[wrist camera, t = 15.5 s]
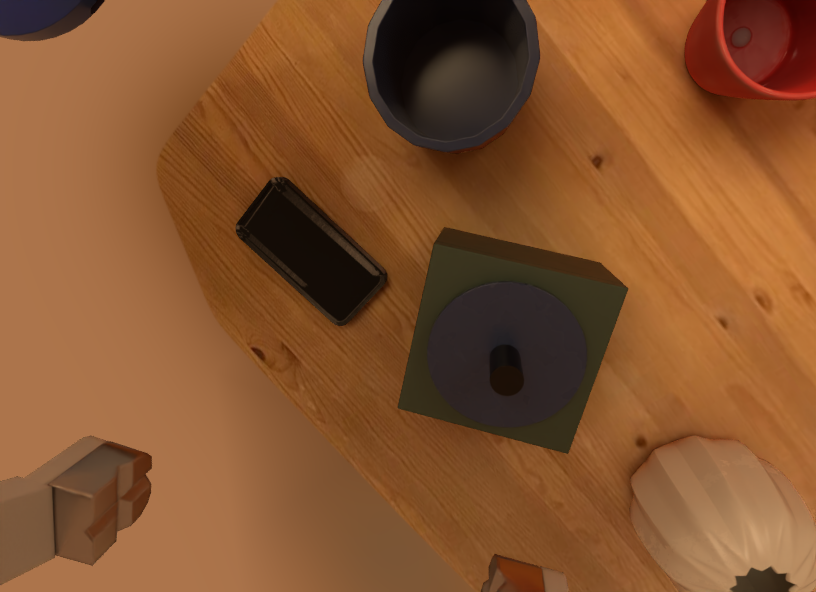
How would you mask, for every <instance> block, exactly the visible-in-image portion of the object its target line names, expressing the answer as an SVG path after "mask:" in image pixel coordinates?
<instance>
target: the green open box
mask: <svg viewBox="0 0 816 592" xmlns="http://www.w3.org/2000/svg"><path fill="white" fill-rule="evenodd" d="M497 281H516V282H522V283H527V284H530V285H533V286H537V287H539V288H541V289H543V290H546V291H547V292H549V293H551V294H552V295H554V296H555V297H557V298H558V299H559V300H560V301H562V302H563V303H564V304H565V305H566V306H567V307H568V308H569V310H570V311H571V312H572V313H573V315H574V316H575V318H576V319H577V321H578V323H579V325H580V327H581V329H582V331H583V334H584V337H585V341H586V347H587V364H586V370H585V374H584V377H583V380H582V382H581V384H580V387H579V388H578V390H577V391H576V393H575V395H574V396H573V397H572V398H571V400H570V401H569V402H568V403H567V404H566V405H565V406H564V407H563V408H562V409H561V410H559V411H558V412H556V413H555V414H553V415H552V416H550V417H548V418H546V419H544V420H542V421H539V422H537V423H534V424H530V425H526V426H520V427H495V426H490V425H485V424H482V423H479V422H476V421H474V420H472V419H470V418H467V417H466V416H464V415H462V414H461V413H459V412H458V411H457V410H455V409H454V408H453V407H452V406H450V405H449V404H448V402H447V401H446V400H445V399H444V398H443V397H442V396H441V394H440V393H439V392H438V390H437V388H436V386H435V385H434V382H433V380H432V378H431V375H430V371H429V368H428V361H427V346H428V340H429V336H430V333H431V330H432V327H433V325H434V323H435V321H436V319H437V317H438V316H439V314H440V313H441V311H442V310H443V309H444V308H445V307H446V306H447V305H448V304H449V303H450V302H451V301H452V300H453V299H454V298H456V297H457V296H459V295H460V294H462V293H463V292H465V291H467V290H469V289H471V288H473V287H476V286H479V285H482V284H485V283H490V282H497ZM627 291H628V288H627V287H626V286H625V285H624V284H623V283H622V282H621V281H620V280H618V279H617V278H616V277H615V276H614V275H613V274H612V273H611V272H610V271H609V270H607V269H606V268H605V267H604V266H603V265H602V264H601V263H599V262H595V261H591V260H586V259H582V258H577V257H573V256H569V255H564V254H560V253H555V252H551V251H547V250H542V249H538V248H533V247H529V246H525V245H520V244H516V243H512V242H507V241H503V240H498V239H494V238H490V237H485V236H481V235H476V234H472V233H468V232H463V231H459V230H454V229H450V228H446V227H444V229H443V230H442V232H441V233H440V235H439V237H438V238H437V240H436V241H435V243H434V246H433V250H432V255H431V259H430V264H429V268H428V273H427V277H426V282H425V286H424V291H423V295H422V300H421V304H420V309H419V313H418V318H417V322H416V327H415V331H414V336H413V340H412V345H411V349H410V354H409V358H408V363H407V367H406V372H405V376H404V381H403V385H402V390H401V394H400V399H399V403H398V408H399V409H402V410H406V411H410V412H413V413H417V414H421V415H425V416H428V417H432V418H436V419H440V420H443V421H447V422H451V423H455V424H458V425H462V426H466V427H470V428H473V429H477V430H481V431H485V432H488V433H492V434H496V435H499V436H503V437H507V438H511V439H514V440H518V441H522V442H526V443H529V444H533V445H537V446H541V447H544V448H548V449H552V450H556V451H559V452H563V453H567V454H568V453H569V450H570V447H571V444H572V442H573V439H574V436H575V433H576V431H577V428H578V425H579V423H580V420H581V417H582V414H583V412H584V409H585V406H586V403H587V401H588V398H589V395H590V392H591V390H592V387H593V384H594V381H595V379H596V376H597V373H598V370H599V368H600V365H601V362H602V359H603V357H604V354H605V351H606V348H607V346H608V343H609V340H610V337H611V335H612V332H613V329H614V327H615V324H616V321H617V318H618V316H619V313H620V310H621V307H622V305H623V302H624V299H625V296H626V294H627Z"/></svg>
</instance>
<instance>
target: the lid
mask: <svg viewBox="0 0 816 592" xmlns="http://www.w3.org/2000/svg"><path fill="white" fill-rule="evenodd" d="M427 361H428V368H429V371H430V375H431V378H432V380H433V382H434V385H435V386H436V388H437V390H438V392H439V393H440V394H441V396H442V397H443V398H444V399H445V400H446V401H447V402H448V404H449V405H450V406H452V407H453V408H454V409H455V410H457V411H458V412H459V413H461V414H462V415H464V416H466V417H467V418H470V419H472V420H474V421H476V422H479V423H482V424H485V425H490V426H495V427H520V426H526V425H530V424H534V423H537V422H539V421H542V420H544V419H546V418H548V417H550V416H552V415H553V414H555V413H556V412H558V411H559V410H561V409H562V408H563V407H564V406H565V405H566V404H567V403H568V402H569V401H570V400H571V398H572V397H573V396H574V395H575V393H576V391H577V390H578V388H579V387H580V384H581V382H582V380H583V377H584V374H585V370H586V364H587V347H586V341H585V337H584V334H583V331H582V329H581V327H580V325H579V323H578V321H577V319H576V318H575V316H574V315H573V313H572V312H571V311H570V310H569V308H568V307H567V306H566V305H565V304H564V303H563V302H562V301H560V300H559V299H558V298H557V297H555V296H554V295H552V294H551V293H549V292H547V291H546V290H543V289H541V288H539V287H537V286H533V285H530V284H527V283H522V282H516V281H497V282H490V283H485V284H482V285H479V286H476V287H473V288H471V289H469V290H467V291H465V292H463V293H462V294H460V295H459V296H457V297H456V298H454V299H453V300H452V301H451V302H450V303H449V304H448V305H447V306H446V307H445V308H444V309H443V310H442V311H441V313H440V314H439V316H438V317H437V319H436V321H435V323H434V325H433V327H432V330H431V333H430V336H429V340H428V346H427Z"/></svg>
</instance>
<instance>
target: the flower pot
mask: <svg viewBox="0 0 816 592" xmlns="http://www.w3.org/2000/svg"><path fill="white" fill-rule="evenodd" d="M685 61H686V66H687V69H688V71H689V73H690V75H691V77H692V78H693V79H694V81H695V82H696V83H697V84H698V85H699V86H700V87H701V88H703V89H705V90H706V91H708V92H711V93H713V94H717V95H722V96H729V97H737V98H747V99H763V100H806V99H813V98H816V0H707V1H706V3H705V5H704V6H703V8H702V9H701V11H700V12H699V14H698V15H697V17H696V19H695V20H694V22H693V24H692V26H691V28H690V30H689V33H688V35H687V39H686V44H685Z"/></svg>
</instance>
